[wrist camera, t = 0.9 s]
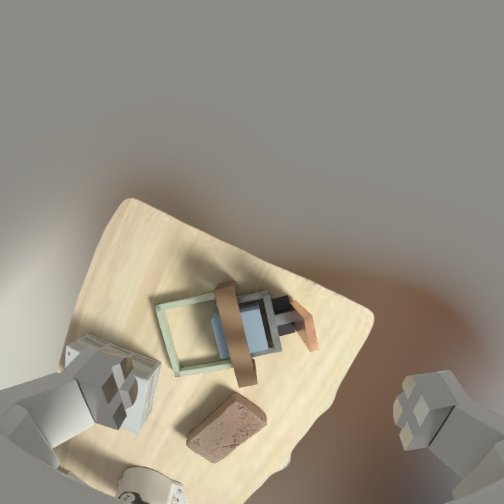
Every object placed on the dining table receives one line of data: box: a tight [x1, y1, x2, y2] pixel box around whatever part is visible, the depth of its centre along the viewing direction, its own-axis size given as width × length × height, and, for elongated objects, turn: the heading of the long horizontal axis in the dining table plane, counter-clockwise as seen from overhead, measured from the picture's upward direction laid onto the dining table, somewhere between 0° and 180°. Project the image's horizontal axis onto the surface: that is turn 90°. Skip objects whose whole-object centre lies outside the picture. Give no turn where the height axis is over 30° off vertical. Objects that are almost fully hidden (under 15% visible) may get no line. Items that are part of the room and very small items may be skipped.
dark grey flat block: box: [271, 296, 295, 336], centre depth 51 cm, size 7×3×1 cm, turn 13°
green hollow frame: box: [155, 292, 233, 377], centre depth 50 cm, size 14×11×2 cm
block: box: [210, 303, 268, 359], centre depth 48 cm, size 7×8×6 cm
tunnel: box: [214, 281, 257, 388], centre depth 47 cm, size 16×3×8 cm, turn 13°
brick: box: [186, 393, 267, 463], centre depth 49 cm, size 17×8×5 cm, turn 139°
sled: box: [216, 289, 319, 361], centre depth 44 cm, size 11×14×13 cm
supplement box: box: [65, 333, 162, 434], centre depth 46 cm, size 17×13×9 cm
